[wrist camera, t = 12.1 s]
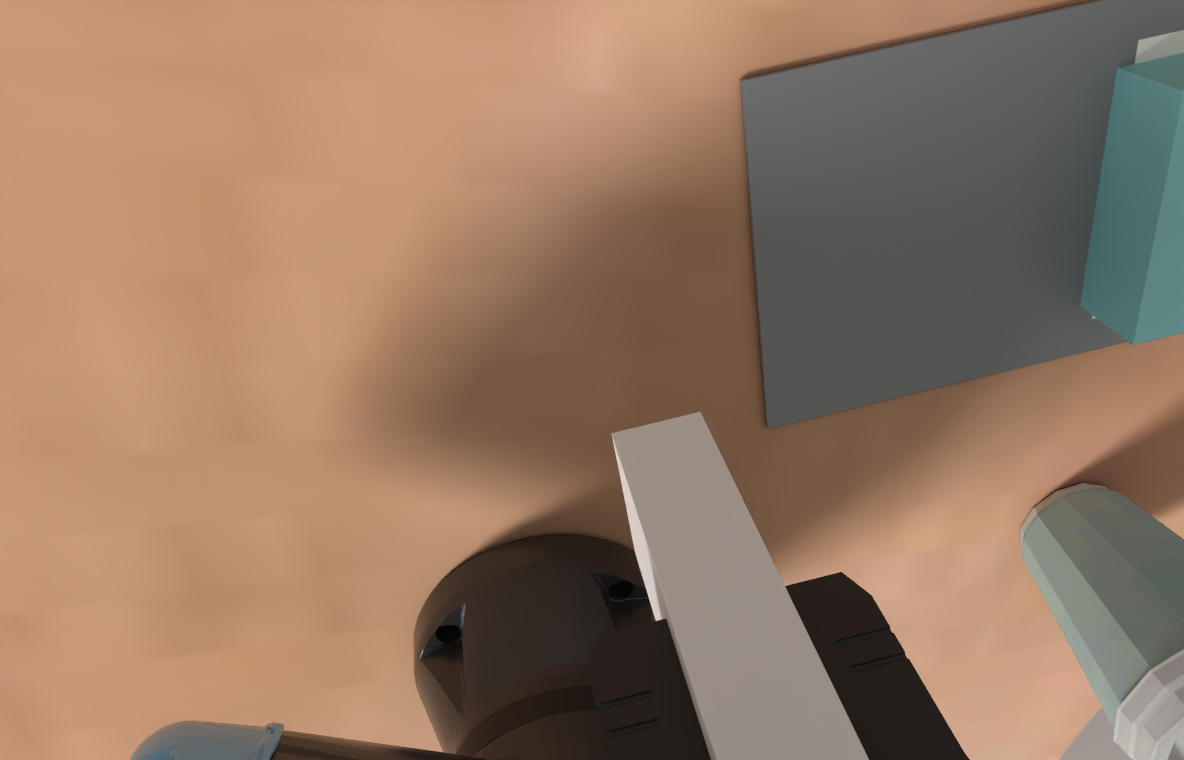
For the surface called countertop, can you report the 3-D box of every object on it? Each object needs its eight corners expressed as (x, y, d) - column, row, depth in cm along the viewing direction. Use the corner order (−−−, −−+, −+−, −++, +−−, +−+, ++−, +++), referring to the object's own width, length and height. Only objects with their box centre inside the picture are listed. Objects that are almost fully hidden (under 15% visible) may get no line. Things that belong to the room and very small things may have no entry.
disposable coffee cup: (1158, 533, 56) (1369, 737, 44) (1002, 612, 58) (1164, 830, 45) (1128, 423, 51) (1361, 621, 38) (956, 514, 52) (1127, 733, 40)
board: (1371, 278, 48) (1376, 281, 48) (766, 425, 46) (768, 429, 46) (1503, -92, 38) (1511, -91, 38) (740, 79, 36) (742, 81, 36)
